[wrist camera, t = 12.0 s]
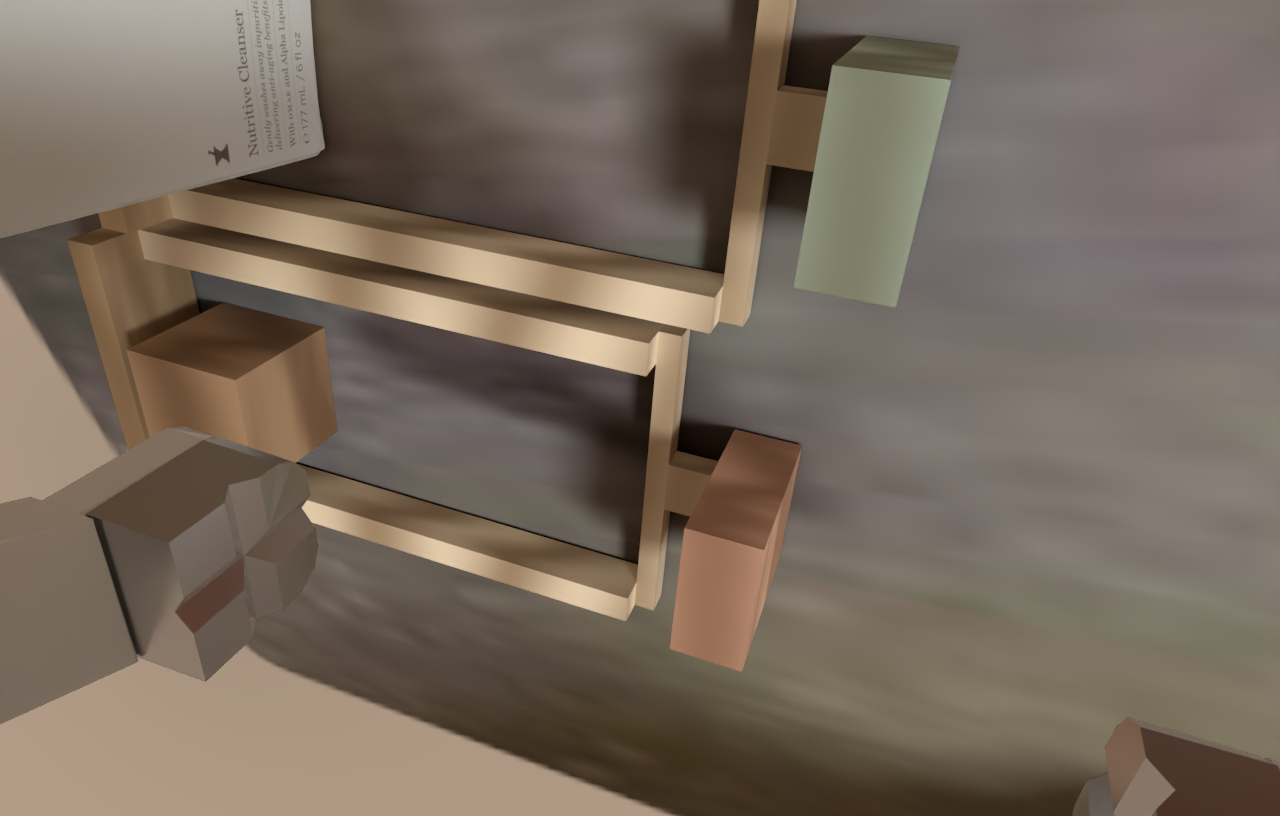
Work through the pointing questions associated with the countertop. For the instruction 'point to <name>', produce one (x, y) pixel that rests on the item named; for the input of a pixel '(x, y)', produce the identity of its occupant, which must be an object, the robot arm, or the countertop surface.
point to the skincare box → (147, 100)
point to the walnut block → (239, 380)
